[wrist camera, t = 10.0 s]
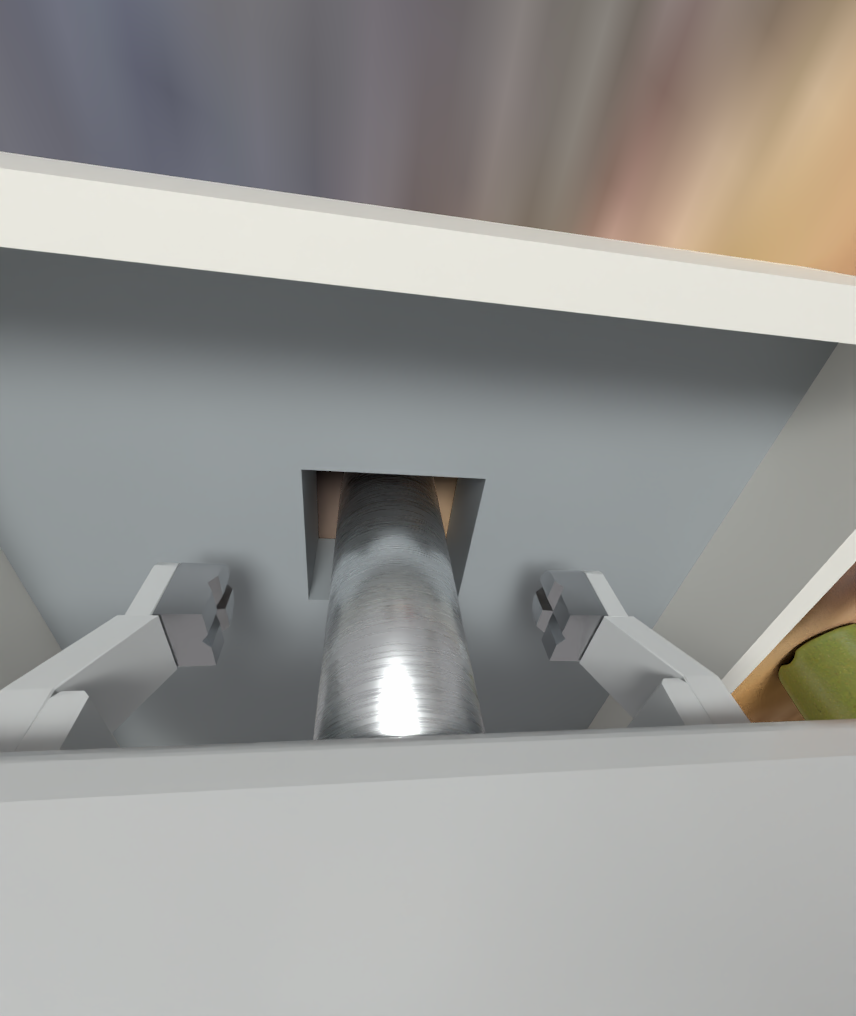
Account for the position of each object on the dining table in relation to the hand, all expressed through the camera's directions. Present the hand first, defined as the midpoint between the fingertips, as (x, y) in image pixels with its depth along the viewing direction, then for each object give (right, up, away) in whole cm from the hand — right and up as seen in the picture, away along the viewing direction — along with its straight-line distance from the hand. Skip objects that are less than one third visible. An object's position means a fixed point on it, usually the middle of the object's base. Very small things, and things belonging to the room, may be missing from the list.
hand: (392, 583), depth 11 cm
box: (-1, 0, +5) cm, 5 cm away
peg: (0, +3, +4) cm, 5 cm away
